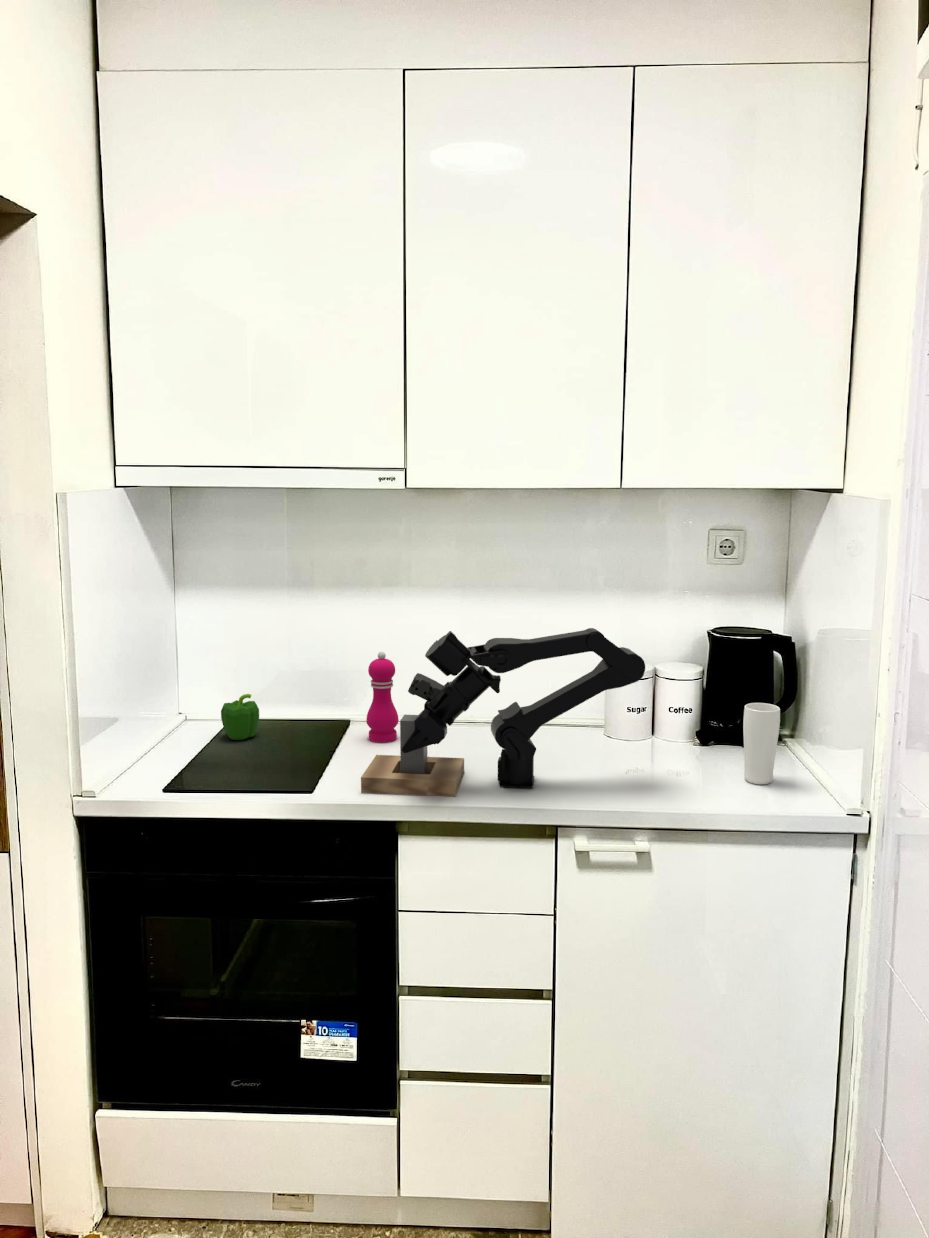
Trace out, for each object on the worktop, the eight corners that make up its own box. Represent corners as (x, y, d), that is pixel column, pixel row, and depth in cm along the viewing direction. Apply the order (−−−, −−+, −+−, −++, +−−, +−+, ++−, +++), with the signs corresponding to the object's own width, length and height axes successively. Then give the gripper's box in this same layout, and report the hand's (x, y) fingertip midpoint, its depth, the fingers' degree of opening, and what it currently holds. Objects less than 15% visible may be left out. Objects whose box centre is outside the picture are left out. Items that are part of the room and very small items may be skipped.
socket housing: (464, 772, 195) (464, 758, 194) (455, 796, 181) (455, 781, 181) (376, 768, 197) (376, 754, 196) (361, 792, 183) (360, 777, 183)
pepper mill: (397, 743, 214) (396, 655, 211) (364, 743, 214) (363, 655, 211) (399, 734, 221) (399, 648, 218) (368, 734, 221) (367, 648, 218)
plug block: (427, 778, 191) (427, 715, 189) (423, 786, 187) (423, 721, 184) (404, 778, 191) (404, 714, 189) (400, 785, 187) (400, 720, 185)
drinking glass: (761, 773, 194) (765, 701, 192) (783, 784, 188) (788, 709, 186) (733, 777, 192) (737, 704, 189) (754, 788, 186) (758, 712, 183)
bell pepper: (216, 742, 215) (214, 698, 213) (230, 731, 223) (228, 689, 221) (252, 743, 214) (250, 699, 212) (265, 733, 222) (263, 690, 220)
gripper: (440, 651, 194) (387, 703, 197) (425, 672, 175) (367, 728, 178) (479, 690, 194) (425, 741, 197) (469, 715, 176) (409, 771, 179)
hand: (406, 744), depth 188 cm, fingers open, 8 cm apart
